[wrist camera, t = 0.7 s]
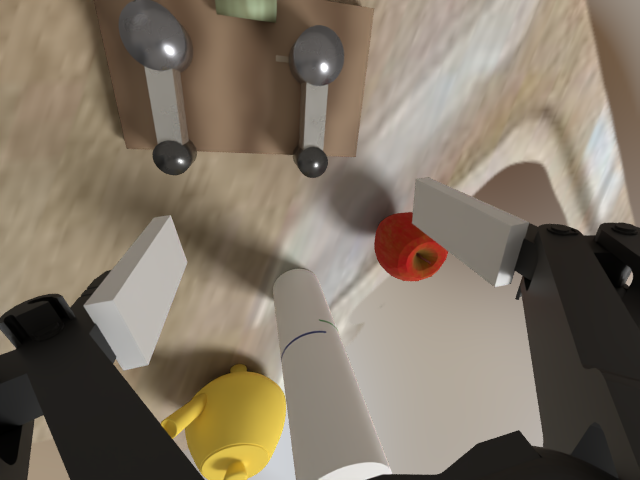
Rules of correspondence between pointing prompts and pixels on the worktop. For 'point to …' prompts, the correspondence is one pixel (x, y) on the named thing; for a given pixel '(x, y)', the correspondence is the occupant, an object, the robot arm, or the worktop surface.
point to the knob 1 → (162, 77)
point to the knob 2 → (314, 92)
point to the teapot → (232, 424)
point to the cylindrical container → (322, 388)
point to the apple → (407, 249)
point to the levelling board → (244, 74)
